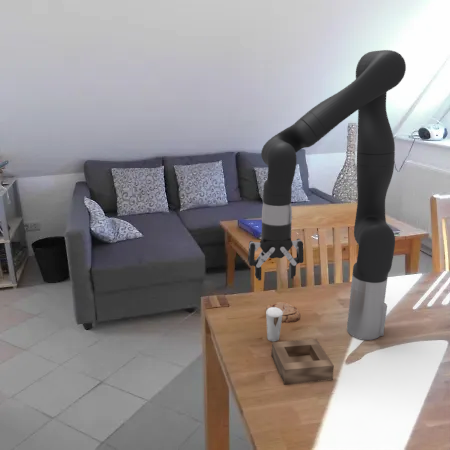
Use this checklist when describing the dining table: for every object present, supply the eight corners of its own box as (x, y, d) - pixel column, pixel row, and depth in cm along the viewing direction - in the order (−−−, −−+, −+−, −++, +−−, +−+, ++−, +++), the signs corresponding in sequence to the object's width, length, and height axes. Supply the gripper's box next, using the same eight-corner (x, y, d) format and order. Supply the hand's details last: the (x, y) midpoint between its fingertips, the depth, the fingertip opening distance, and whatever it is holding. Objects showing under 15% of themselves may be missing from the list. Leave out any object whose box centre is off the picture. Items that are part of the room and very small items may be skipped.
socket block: (315, 352, 128) (316, 338, 127) (332, 379, 117) (333, 365, 115) (271, 355, 126) (271, 342, 125) (284, 384, 115) (284, 369, 113)
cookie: (297, 326, 141) (297, 317, 140) (261, 320, 144) (262, 311, 143) (302, 311, 150) (303, 302, 149) (269, 305, 153) (269, 297, 152)
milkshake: (283, 344, 131) (285, 311, 128) (263, 342, 132) (265, 309, 129) (285, 335, 136) (286, 303, 132) (265, 333, 137) (267, 301, 133)
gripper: (300, 214, 127) (297, 271, 132) (246, 216, 126) (246, 274, 131) (308, 223, 120) (305, 283, 125) (251, 225, 119) (250, 286, 124)
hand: (275, 278), depth 128 cm, fingers open, 8 cm apart
